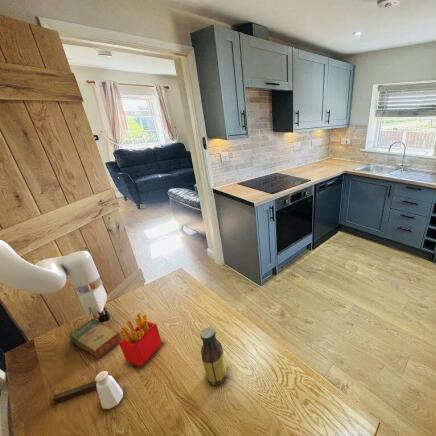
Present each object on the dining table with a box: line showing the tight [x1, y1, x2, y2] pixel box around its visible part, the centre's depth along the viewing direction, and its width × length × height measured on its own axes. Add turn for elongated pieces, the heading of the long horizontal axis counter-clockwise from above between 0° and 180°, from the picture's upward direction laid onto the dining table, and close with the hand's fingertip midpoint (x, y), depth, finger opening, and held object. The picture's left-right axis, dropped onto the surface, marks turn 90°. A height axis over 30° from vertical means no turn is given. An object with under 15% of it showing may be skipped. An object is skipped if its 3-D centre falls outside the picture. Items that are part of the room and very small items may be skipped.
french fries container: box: [118, 312, 163, 368], centre depth 80 cm, size 7×9×14 cm
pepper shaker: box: [94, 370, 124, 410], centre depth 67 cm, size 5×5×11 cm
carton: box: [68, 317, 122, 359], centre depth 86 cm, size 8×16×4 cm, turn 66°
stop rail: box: [52, 375, 114, 404], centre depth 71 cm, size 14×2×2 cm, turn 114°
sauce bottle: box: [199, 326, 228, 386], centre depth 72 cm, size 6×6×20 cm
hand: (105, 320), depth 93 cm, fingers closed
